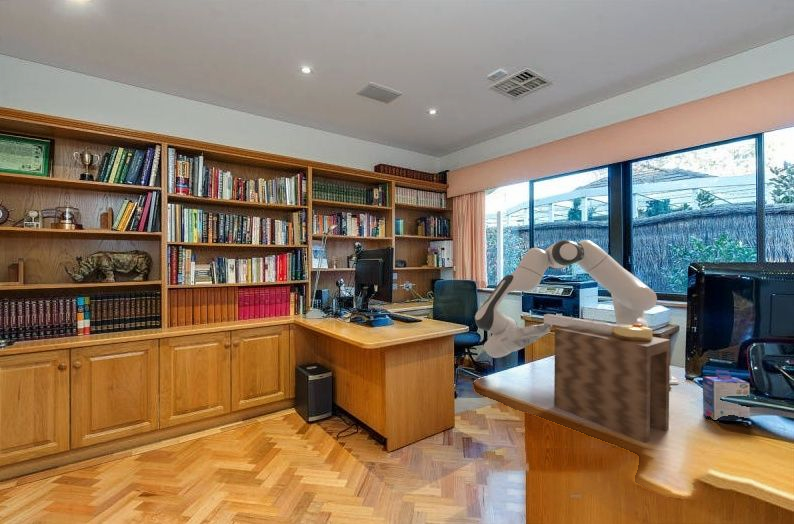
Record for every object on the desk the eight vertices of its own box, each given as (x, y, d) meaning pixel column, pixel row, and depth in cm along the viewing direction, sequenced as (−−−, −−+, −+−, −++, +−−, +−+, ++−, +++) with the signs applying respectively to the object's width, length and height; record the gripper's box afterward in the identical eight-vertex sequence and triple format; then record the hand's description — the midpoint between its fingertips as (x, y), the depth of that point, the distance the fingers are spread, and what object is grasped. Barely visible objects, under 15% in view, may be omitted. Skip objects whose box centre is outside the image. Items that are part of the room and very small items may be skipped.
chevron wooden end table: (554, 406, 117) (554, 328, 116) (578, 397, 124) (578, 324, 124) (646, 442, 94) (647, 346, 94) (668, 429, 101) (669, 339, 101)
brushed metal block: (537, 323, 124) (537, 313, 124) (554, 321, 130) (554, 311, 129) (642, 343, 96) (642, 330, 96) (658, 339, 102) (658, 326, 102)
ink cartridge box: (736, 415, 110) (736, 369, 110) (751, 423, 105) (751, 375, 104) (701, 413, 112) (701, 368, 111) (714, 421, 106) (714, 374, 106)
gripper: (494, 333, 134) (520, 320, 124) (529, 327, 145) (555, 314, 135) (501, 349, 132) (528, 337, 121) (535, 342, 142) (563, 330, 132)
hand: (542, 325), depth 128 cm, fingers open, 8 cm apart
